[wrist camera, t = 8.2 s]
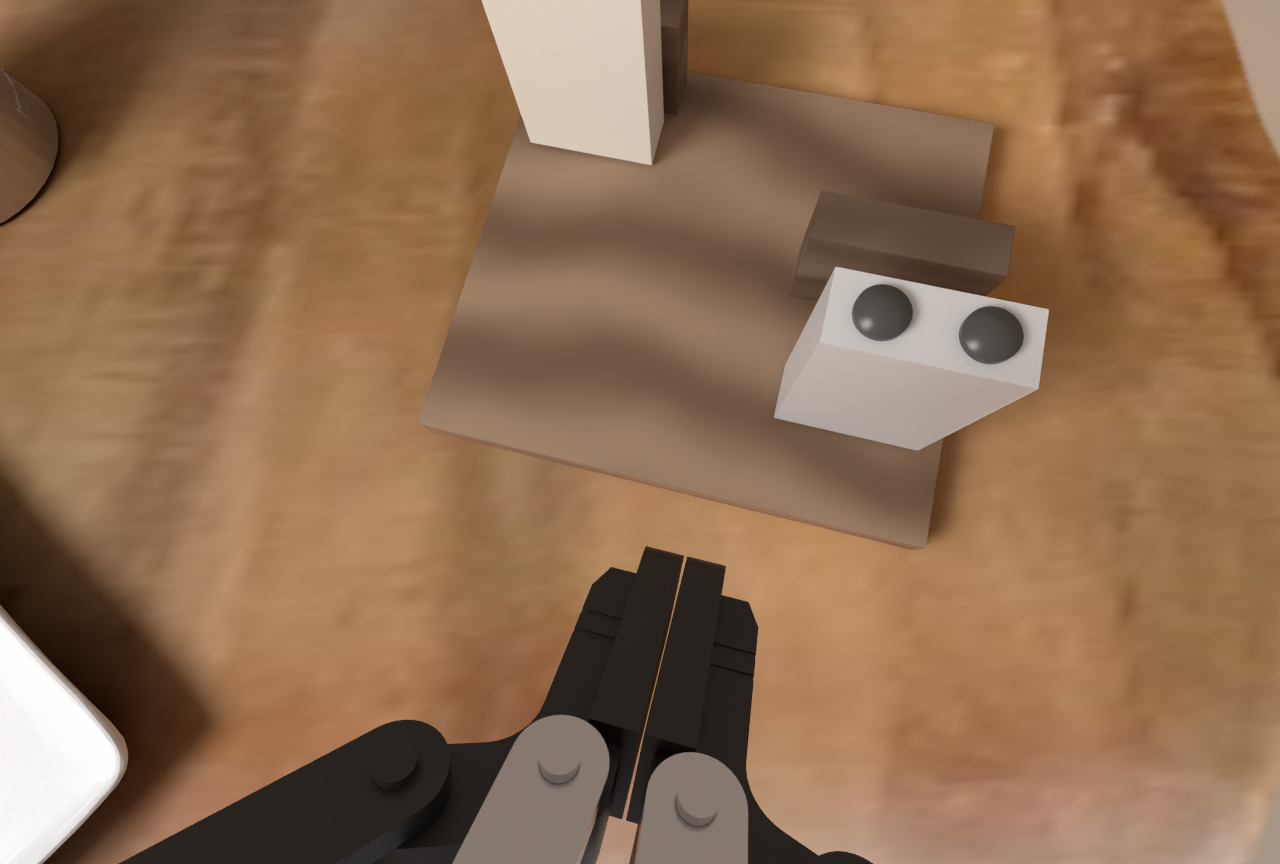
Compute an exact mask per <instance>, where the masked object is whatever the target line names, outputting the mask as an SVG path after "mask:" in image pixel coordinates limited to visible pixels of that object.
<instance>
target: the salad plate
mask: <svg viewBox="0 0 1280 864" xmlns="http://www.w3.org/2000/svg"><path fill="white" fill-rule="evenodd" d="M127 763H128V750H127V746H126V743H125V740H124V738H123V736H122V735H121V734H120V733H119V731H118V730H117V729H116V728H115V726H114V725H113V724H112V723H111V722H110V721H109V720H108V719H107V718H106V717H105V716H104V715H103V714H102V713H101V712H100V711H99V710H98V709H97V708H96V707H95V706H94V705H93V704H92V703H91V702H90V701H89V700H88V699H87V698H86V697H85V696H84V695H83V694H82V693H81V692H80V691H79V690H78V689H77V688H76V687H75V686H74V685H73V684H72V683H71V682H70V681H69V680H68V679H67V678H66V677H65V676H64V675H63V674H62V673H61V672H60V671H59V670H58V669H57V668H56V667H55V666H54V665H53V664H52V663H51V662H50V661H49V659H48V658H47V657H46V656H45V655H44V654H43V653H42V652H41V651H40V649H39V648H38V647H37V646H36V645H35V644H34V643H33V642H32V641H31V639H30V638H29V637H28V636H27V635H26V634H25V633H24V632H23V631H22V629H21V628H20V627H19V626H18V625H17V624H16V623H15V621H14V620H13V619H12V618H11V617H10V615H9V614H8V613H7V612H6V611H5V610H4V608H3V607H2V606H1V605H0V864H43V863H44V862H45V861H46V860H47V859H48V858H49V857H50V856H51V855H52V854H53V853H54V852H55V851H56V850H57V849H58V848H59V847H60V846H61V845H62V844H63V843H64V842H65V841H66V840H67V839H68V838H69V837H70V836H71V835H72V834H73V833H74V832H75V831H76V830H77V829H78V828H79V827H80V826H81V825H82V824H83V823H84V822H85V821H86V820H87V819H88V818H89V817H90V816H91V814H92V813H93V812H94V811H95V810H96V809H97V808H98V807H99V806H100V805H101V804H102V802H103V801H104V800H105V799H106V798H107V797H108V795H109V794H110V793H111V792H112V791H113V790H114V789H115V787H116V786H117V785H118V784H119V782H120V780H121V779H122V777H123V775H124V773H125V771H126V768H127Z"/></svg>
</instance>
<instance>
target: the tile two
mask: <svg viewBox="0 0 1280 864" xmlns="http://www.w3.org/2000/svg"><path fill="white" fill-rule="evenodd" d="M1048 314H1049V309H1045V308H1040V307H1035V306H1030V305H1025V304H1020V303H1015V302H1010V301H1005V300H1000V299H995V298H990V297H985V296H980V295H975V294H970V293H965V292H960V291H955V290H950V289H945V288H940V287H935V286H930V285H925V284H920V283H915V282H910V281H905V280H900V279H895V278H890V277H885V276H880V275H875V274H870V273H865V272H860V271H855V270H850V269H845V268H840V267H835V269H834V271H833V273H832V275H831V276H830V278H829V280H828V282H827V284H826V286H825V288H824V290H823V292H822V294H821V296H820V298H819V300H818V302H817V304H816V306H815V308H814V310H813V312H812V314H811V316H810V317H809V319H808V321H807V323H806V325H805V327H804V329H803V331H802V333H801V335H800V337H799V339H798V341H797V343H796V345H795V347H794V349H793V351H792V353H791V355H790V357H789V358H788V360H787V362H786V364H785V368H784V372H783V377H782V382H781V386H780V391H779V395H778V400H777V405H776V409H775V414H774V418H777V419H781V420H786V421H790V422H794V423H799V424H803V425H807V426H812V427H816V428H820V429H825V430H829V431H834V432H838V433H842V434H847V435H851V436H855V437H860V438H864V439H868V440H873V441H877V442H881V443H886V444H890V445H895V446H899V447H903V448H908V449H912V450H916V451H918V450H920V449H922V448H924V447H926V446H928V445H930V444H932V443H934V442H936V441H938V440H940V439H942V438H944V437H946V436H948V435H950V434H952V433H953V432H955V431H957V430H959V429H961V428H963V427H965V426H967V425H969V424H971V423H973V422H975V421H977V420H979V419H981V418H983V417H985V416H987V415H989V414H991V413H993V412H995V411H997V410H999V409H1001V408H1003V407H1004V406H1006V405H1008V404H1010V403H1012V402H1014V401H1016V400H1018V399H1020V398H1022V397H1024V396H1026V395H1028V394H1030V393H1032V392H1034V391H1036V390H1038V389H1039V381H1040V374H1041V366H1042V359H1043V351H1044V344H1045V336H1046V329H1047V321H1048Z"/></svg>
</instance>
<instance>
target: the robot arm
mask: <svg viewBox="0 0 1280 864" xmlns="http://www.w3.org/2000/svg"><path fill="white" fill-rule="evenodd" d="M57 151H58V130H57V125H56V120H55V118H54V116H53V114H52V113H51V111H50V109H49V107H48V106H47V105H46V104H45V103H44V102H43V101H42V100H41V99H40V98H39V97H38V96H37V95H35V94H34V93H32V92H31V91H30V90H28V89H27V88H26V87H24V86H23V85H22V84H20V83H19V82H18V81H16V80H15V79H14V78H12V77H11V75H10V74H8V73H7V72H6V71H4V70H3V69H2V68H0V223H2V222H4V221H6V220H7V219H9V218H10V217H12V216H13V215H15V214H16V213H17V212H19V211H20V210H21V209H22V208H23V207H25V206H26V205H27V204H28V203H29V202H30V201H31V200H32V199H33V198H34V197H35V195H36V194H37V193H38V191H39V190H40V189H41V187H42V186H43V185H44V183H45V182H46V180H47V178H48V176H49V174H50V172H51V170H52V168H53V166H54V162H55V158H56V155H57ZM683 558H684V556H683V555H679V554H675V553H671V552H667V551H663V550H659V549H655V548H651V547H647V546H646V547H645V550H644V552H643V555H642V558H641V562H640V565H639V568H638V571H637V574H636V573H632V572H628V571H624V570H620V569H617V568H613V567H611V568H610V569H609V570H608V571H607V572H606V573H604V574H603V575H602V576H601V577H600V578H599V579H598V580H597V581H596V582H594V583H593V584H592V586H591V589H590V591H589V594H588V596H587V599H586V601H585V604H584V606H583V609H582V613H580V616H579V618H578V621H577V623H576V626H575V629H574V632H573V633H572V636H571V638H570V641H569V643H568V645H567V648H566V650H565V653H564V655H563V658H562V660H561V663H560V665H559V668H558V670H557V673H556V675H555V677H554V680H553V682H552V685H551V687H550V690H549V692H548V695H547V697H546V700H545V702H544V704H543V706H542V708H541V710H540V712H539V713H538V715H537V716H536V718H535V719H534V720H533V721H532V722H531V723H530V724H529V725H528V726H526V727H525V728H524V729H523V730H521V731H519V732H518V733H516V734H514V735H512V736H510V737H507V738H505V739H502V740H498V741H493V742H484V743H463V744H447V743H446V740H445V739H444V737H443V736H442V734H441V733H440V732H439V731H438V730H437V729H436V728H434V727H432V726H431V725H429V724H427V723H424V722H421V721H416V720H399V721H394V722H390V723H387V724H384V725H382V726H380V727H377V728H375V729H373V730H372V731H370V732H368V733H366V734H364V735H362V736H360V737H358V738H356V739H354V740H353V741H351V742H349V743H347V744H345V745H343V746H341V747H339V748H337V749H335V750H334V751H332V752H330V753H328V754H326V755H324V756H322V757H320V758H318V759H316V760H315V761H313V762H311V763H309V764H307V765H305V766H303V767H301V768H299V769H297V770H296V771H294V772H292V773H290V774H288V775H286V776H284V777H282V778H280V779H278V780H277V781H275V782H273V783H271V784H269V785H267V786H265V787H263V788H261V789H260V790H258V791H256V792H254V793H252V794H250V795H248V796H246V797H244V798H242V799H241V800H239V801H237V802H235V803H233V804H231V805H229V806H227V807H225V808H223V809H222V810H220V811H218V812H216V813H214V814H212V815H210V816H208V817H206V818H204V819H203V820H201V821H199V822H197V823H195V824H193V825H191V826H189V827H187V828H185V829H184V830H182V831H180V832H178V833H176V834H174V835H172V836H170V837H168V838H167V839H165V840H163V841H161V842H159V843H157V844H155V845H153V846H151V847H149V848H148V849H146V850H144V851H142V852H140V853H138V854H136V855H134V856H132V857H130V858H129V859H127V860H125V861H123V862H121V863H119V864H595V863H596V861H597V858H598V855H599V852H600V848H601V844H602V840H603V837H604V833H605V829H606V825H607V821H608V818H609V816H613V817H616V818H619V819H622V817H623V813H624V809H625V804H626V800H627V796H628V792H629V788H630V784H631V780H632V776H633V772H634V768H635V764H636V759H637V755H638V751H639V747H640V743H641V739H642V735H643V731H644V727H645V723H646V718H647V714H648V710H649V706H650V702H651V698H652V694H653V690H654V686H655V682H656V677H657V673H658V669H659V665H660V661H661V657H662V653H663V649H664V645H665V641H666V636H667V632H668V628H669V623H670V619H671V614H672V610H673V605H674V600H675V596H676V591H677V586H678V582H679V577H680V572H681V568H682V563H683ZM725 568H726V566H724V565H720V564H716V563H712V562H708V561H704V560H700V559H696V558H692V557H688V556H687V560H686V564H685V568H684V572H683V576H682V580H681V584H680V589H679V593H678V597H677V601H676V605H675V609H674V613H673V617H672V622H671V626H670V630H669V634H668V638H667V642H666V646H665V651H664V655H663V659H662V663H661V667H660V671H659V675H658V680H657V684H656V688H655V692H654V696H653V700H652V704H651V709H650V713H649V717H648V721H647V725H646V729H645V733H644V738H643V743H642V747H641V752H640V757H639V762H638V766H637V771H636V776H635V781H634V785H633V790H632V795H631V800H630V804H629V809H628V814H627V818H626V820H627V821H630V822H633V823H637V824H638V827H637V831H636V836H635V840H634V845H633V849H632V854H631V858H630V863H629V864H873V863H871V862H869V861H868V860H866V859H864V858H862V857H860V856H858V855H855V854H852V853H848V852H841V851H834V852H827V853H825V854H822V855H820V856H818V855H817V854H815V853H814V852H812V851H811V850H809V849H808V848H806V847H805V846H804V845H802V844H801V843H799V842H798V841H796V840H795V839H793V838H792V837H790V836H789V835H787V834H786V833H785V832H783V831H782V830H781V829H779V828H778V827H777V826H776V825H774V824H773V823H772V822H771V821H770V820H769V819H768V818H767V816H766V815H765V814H764V813H763V811H762V810H761V809H760V807H759V806H758V804H757V802H756V801H755V799H754V797H753V795H752V792H751V790H750V787H749V783H748V780H747V773H746V757H747V746H748V735H749V724H750V713H751V702H752V691H753V677H754V668H755V655H756V646H757V635H758V626H757V623H756V621H755V618H754V615H753V613H752V610H751V607H750V605H749V602H746V601H742V600H738V599H734V598H731V597H727V596H723V595H721V594H722V588H723V581H724V575H725Z"/></svg>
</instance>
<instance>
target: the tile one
mask: <svg viewBox="0 0 1280 864" xmlns="http://www.w3.org/2000/svg"><path fill="white" fill-rule="evenodd" d="M482 3H483V6H484V9H485V11H486V14H487V17H488V20H489V23H490V26H491V29H492V32H493V35H494V38H495V40H496V43H497V46H498V49H499V52H500V55H501V58H502V61H503V64H504V67H505V69H506V72H507V75H508V78H509V81H510V84H511V87H512V90H513V93H514V96H515V98H516V101H517V104H518V107H519V110H520V113H521V116H522V119H523V122H524V125H525V127H526V130H527V133H528V136H529V139H530V142H531V143H536V144H541V145H547V146H552V147H557V148H563V149H568V150H573V151H579V152H584V153H589V154H594V155H600V156H605V157H610V158H616V159H621V160H626V161H632V162H637V163H642V164H647V165H652V162H653V159H654V155H655V152H656V148H657V145H658V141H659V138H660V134H661V130H662V127H663V123H664V109H663V78H662V48H661V18H660V0H482Z"/></svg>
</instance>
